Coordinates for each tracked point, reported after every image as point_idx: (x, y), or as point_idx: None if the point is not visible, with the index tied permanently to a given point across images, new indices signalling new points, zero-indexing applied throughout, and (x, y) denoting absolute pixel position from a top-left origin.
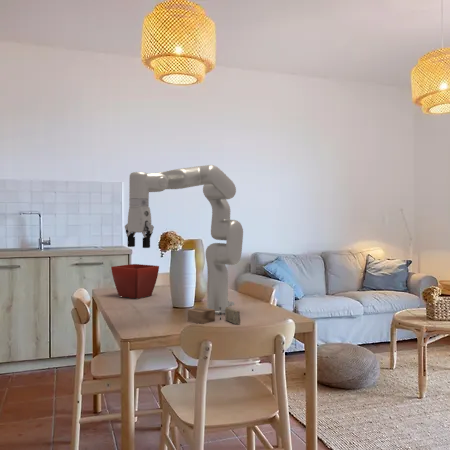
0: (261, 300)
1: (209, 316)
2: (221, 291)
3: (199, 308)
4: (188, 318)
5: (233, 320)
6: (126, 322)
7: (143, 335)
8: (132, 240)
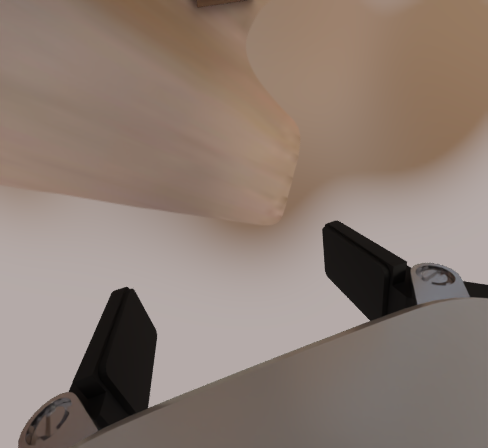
0: None
1: None
2: None
3: None
4: (201, 2)
5: None
6: (140, 177)
7: (277, 190)
8: (133, 355)
